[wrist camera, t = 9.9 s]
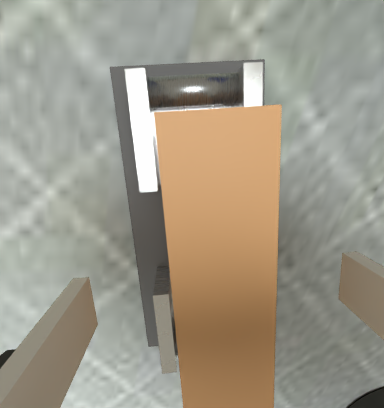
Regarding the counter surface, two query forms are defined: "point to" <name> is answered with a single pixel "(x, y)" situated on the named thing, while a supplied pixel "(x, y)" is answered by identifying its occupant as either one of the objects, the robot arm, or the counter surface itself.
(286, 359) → the counter surface
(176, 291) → the peach wooden brick
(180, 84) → the grey bracket plate
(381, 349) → the counter surface
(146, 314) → the dark grey base plate
